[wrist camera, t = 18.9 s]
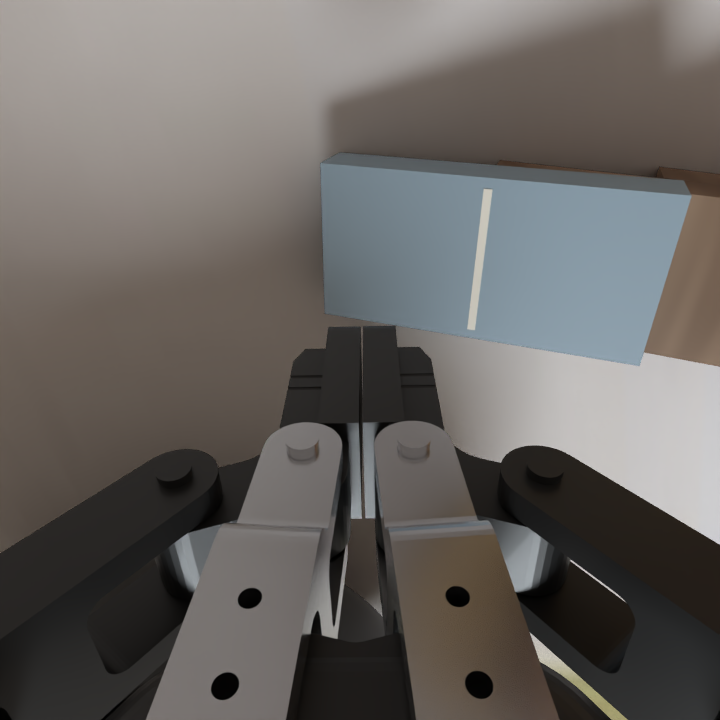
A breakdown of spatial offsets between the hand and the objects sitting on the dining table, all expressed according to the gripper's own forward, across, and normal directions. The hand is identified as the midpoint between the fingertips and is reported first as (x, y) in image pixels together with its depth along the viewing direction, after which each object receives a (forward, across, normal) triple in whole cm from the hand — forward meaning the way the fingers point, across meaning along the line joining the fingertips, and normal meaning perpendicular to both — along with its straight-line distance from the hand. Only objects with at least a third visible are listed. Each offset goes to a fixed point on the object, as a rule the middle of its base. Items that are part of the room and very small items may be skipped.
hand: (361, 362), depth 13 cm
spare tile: (+7, +1, 0) cm, 7 cm away
